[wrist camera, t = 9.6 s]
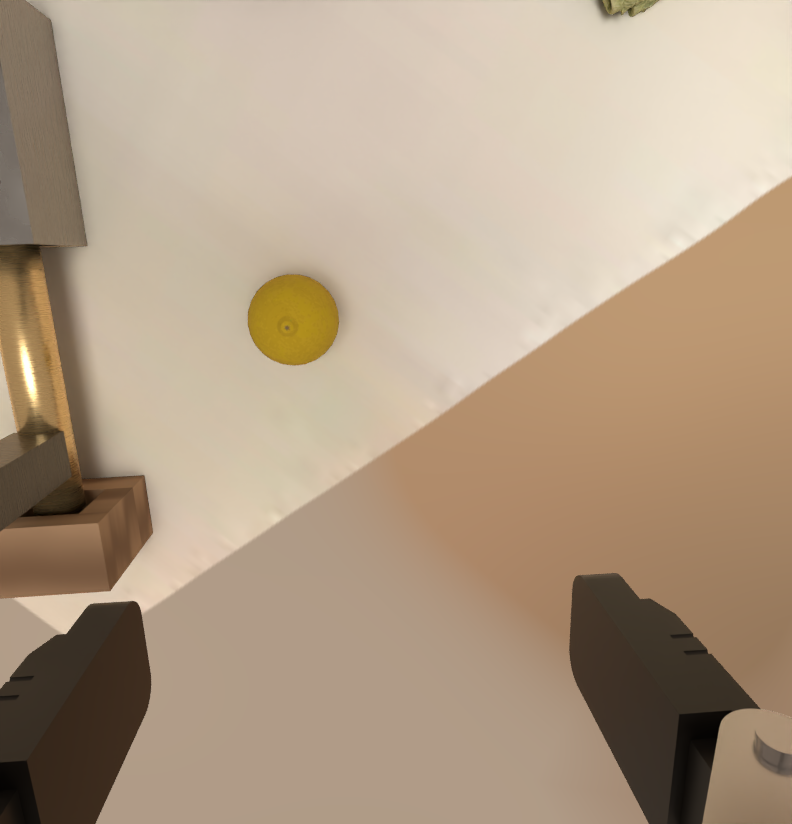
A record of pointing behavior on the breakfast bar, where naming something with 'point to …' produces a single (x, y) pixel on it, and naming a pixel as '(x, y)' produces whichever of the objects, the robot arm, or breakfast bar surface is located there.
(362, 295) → the breakfast bar surface
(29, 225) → the sleeve
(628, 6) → the washcloth
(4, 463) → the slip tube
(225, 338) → the breakfast bar surface
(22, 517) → the socket
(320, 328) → the lemon
